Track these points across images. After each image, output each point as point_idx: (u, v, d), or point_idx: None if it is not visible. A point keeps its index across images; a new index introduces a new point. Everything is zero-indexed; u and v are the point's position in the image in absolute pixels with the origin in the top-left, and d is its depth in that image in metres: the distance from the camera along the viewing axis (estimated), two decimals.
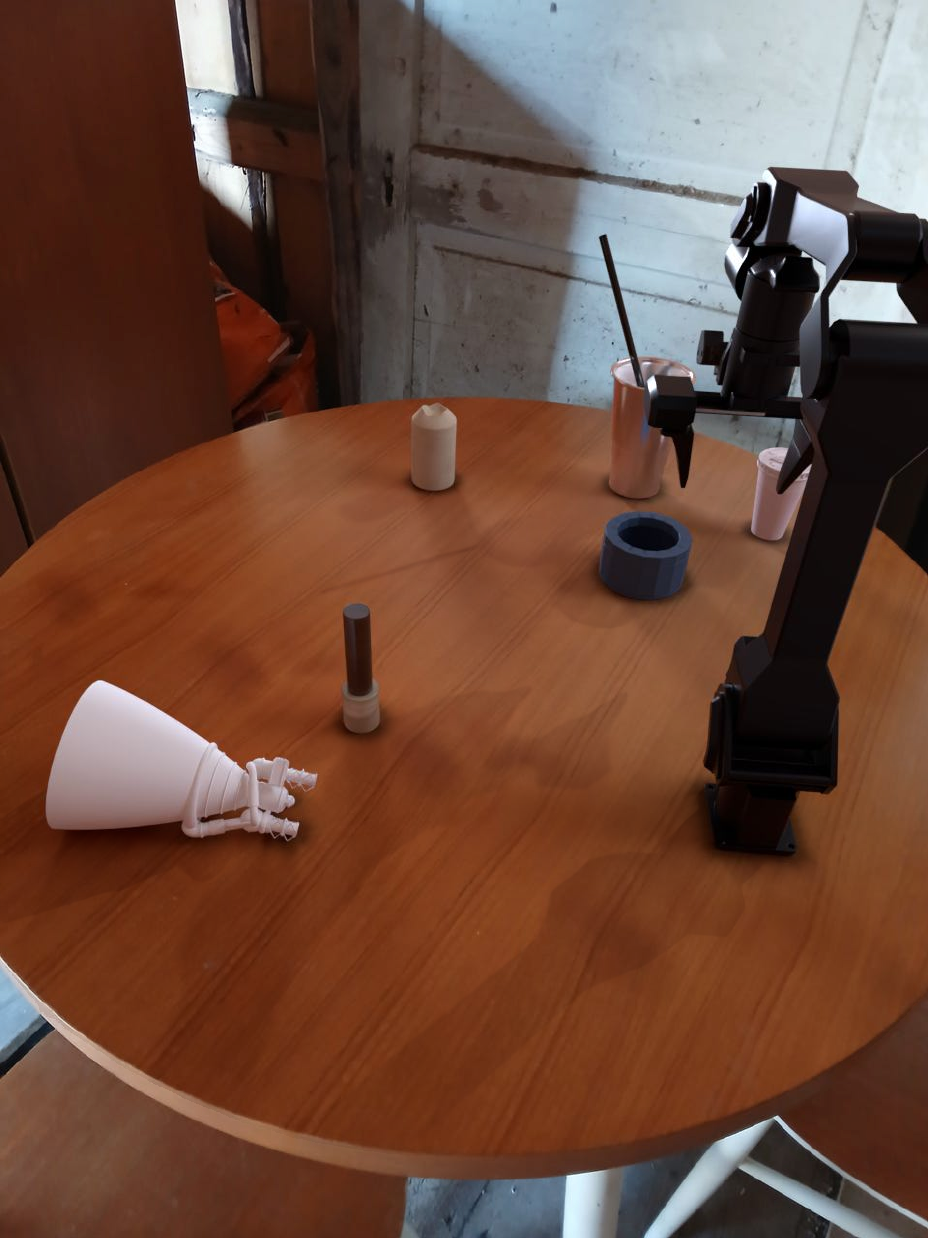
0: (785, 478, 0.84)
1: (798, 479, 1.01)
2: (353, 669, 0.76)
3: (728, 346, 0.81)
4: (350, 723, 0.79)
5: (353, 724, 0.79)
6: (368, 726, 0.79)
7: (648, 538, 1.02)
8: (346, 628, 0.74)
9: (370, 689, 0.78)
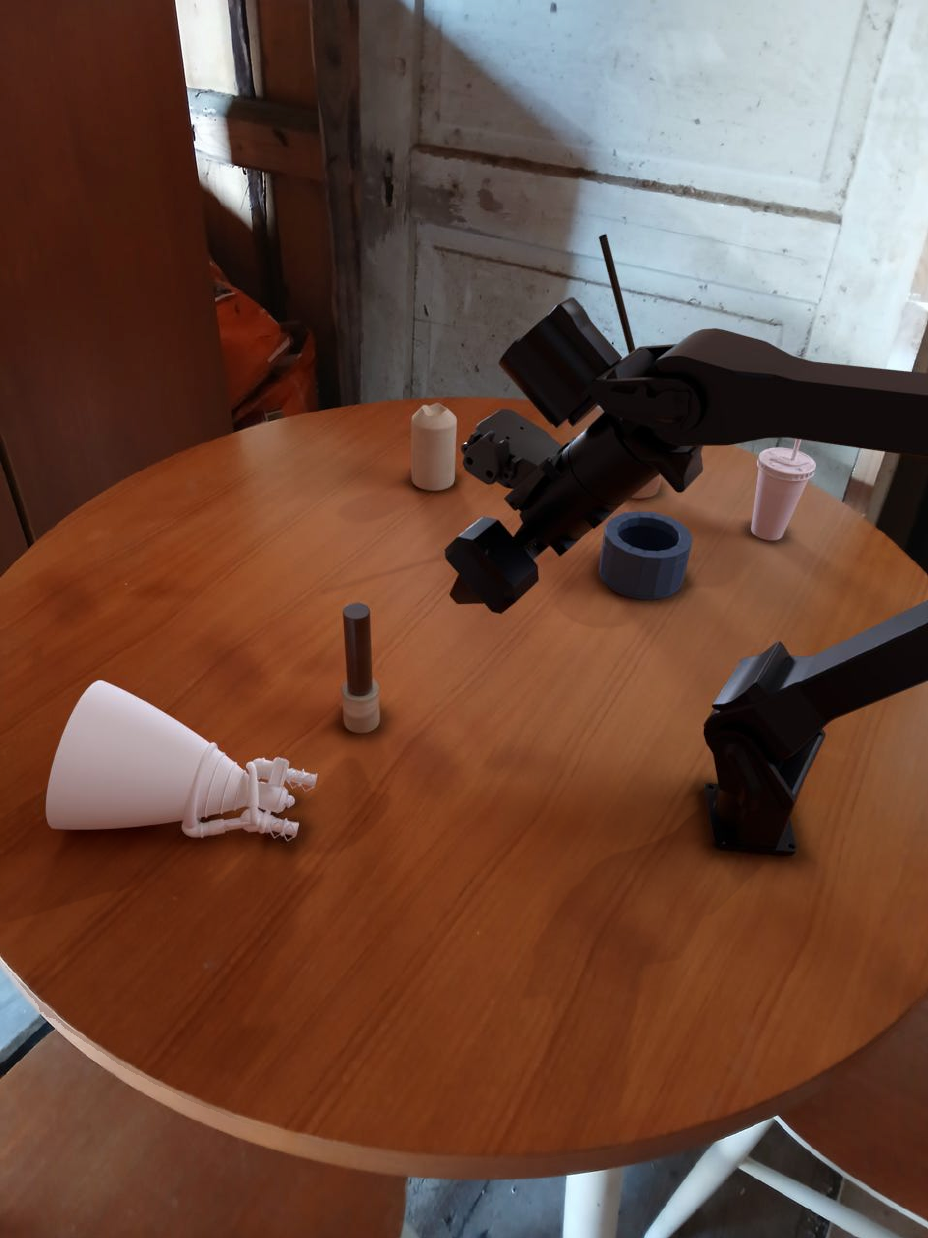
0: None
1: (798, 479, 1.01)
2: (353, 669, 0.76)
3: (536, 475, 0.65)
4: (350, 723, 0.79)
5: (353, 724, 0.79)
6: (368, 726, 0.79)
7: (648, 538, 1.02)
8: (346, 628, 0.74)
9: (370, 689, 0.78)
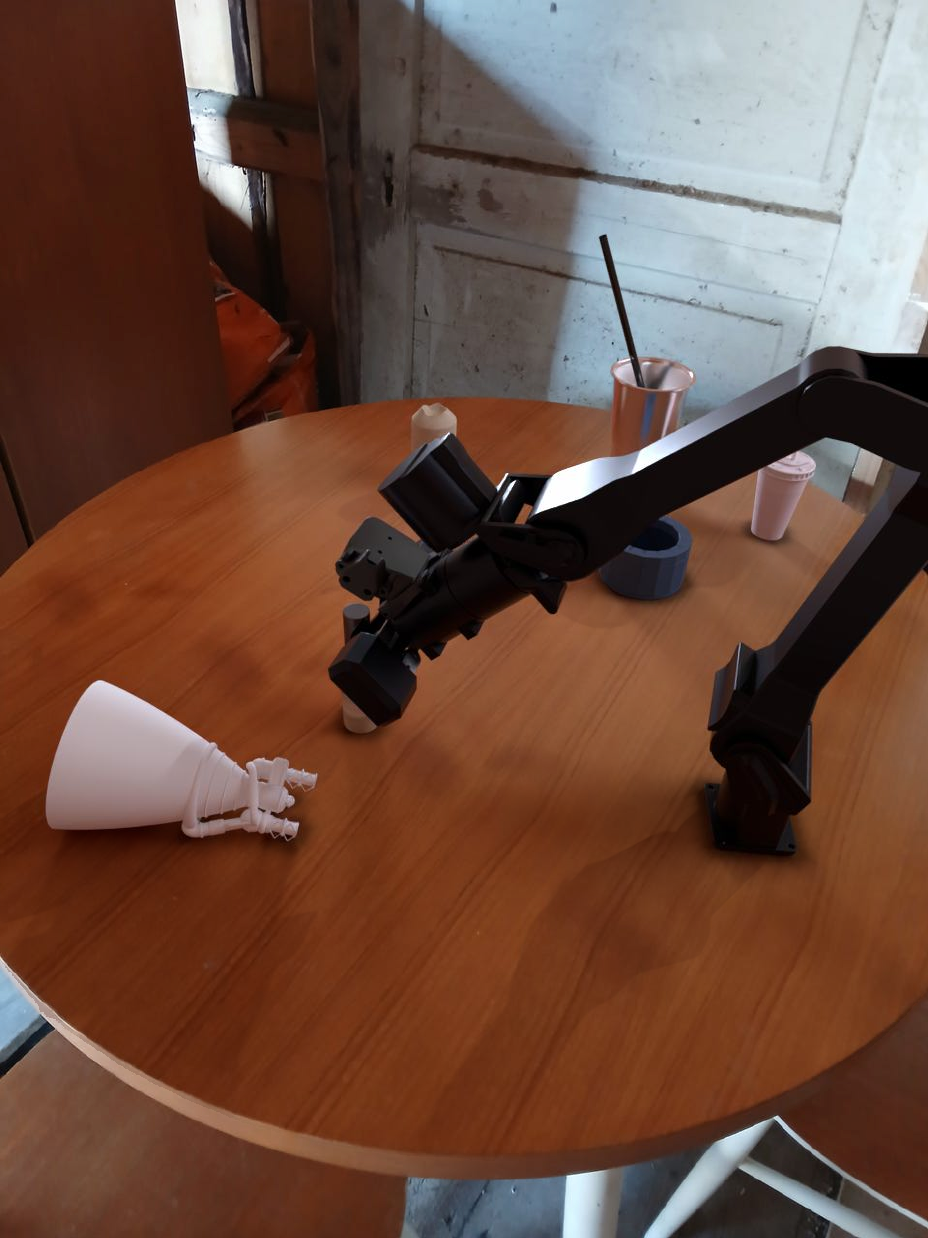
0: None
1: (798, 479, 1.01)
2: None
3: (412, 592, 0.67)
4: (350, 723, 0.79)
5: (353, 724, 0.79)
6: (368, 726, 0.79)
7: (648, 538, 1.02)
8: (346, 628, 0.74)
9: None
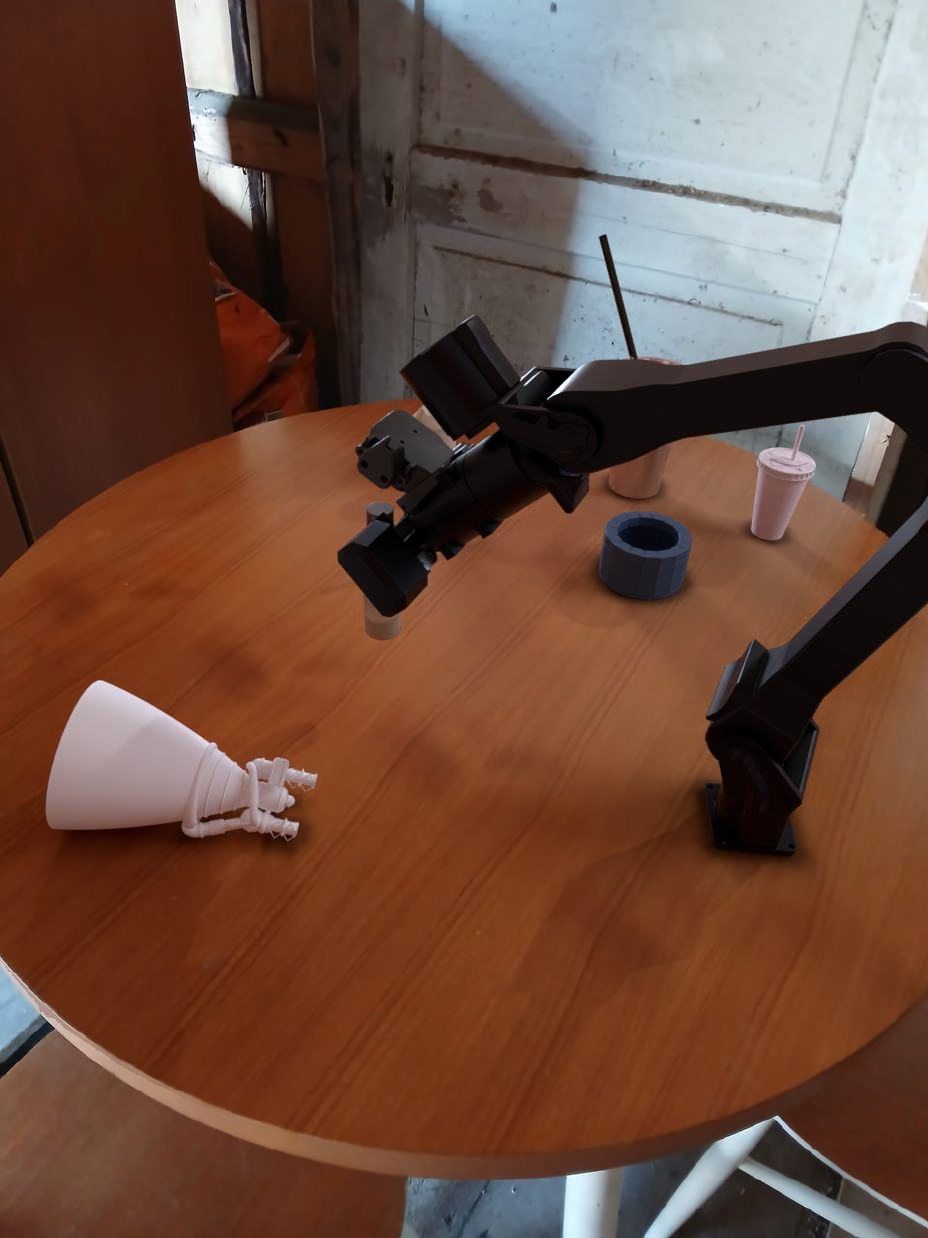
0: None
1: (798, 479, 1.01)
2: None
3: (430, 483, 0.66)
4: (370, 629, 0.79)
5: (373, 630, 0.79)
6: (387, 633, 0.79)
7: (648, 538, 1.02)
8: None
9: None
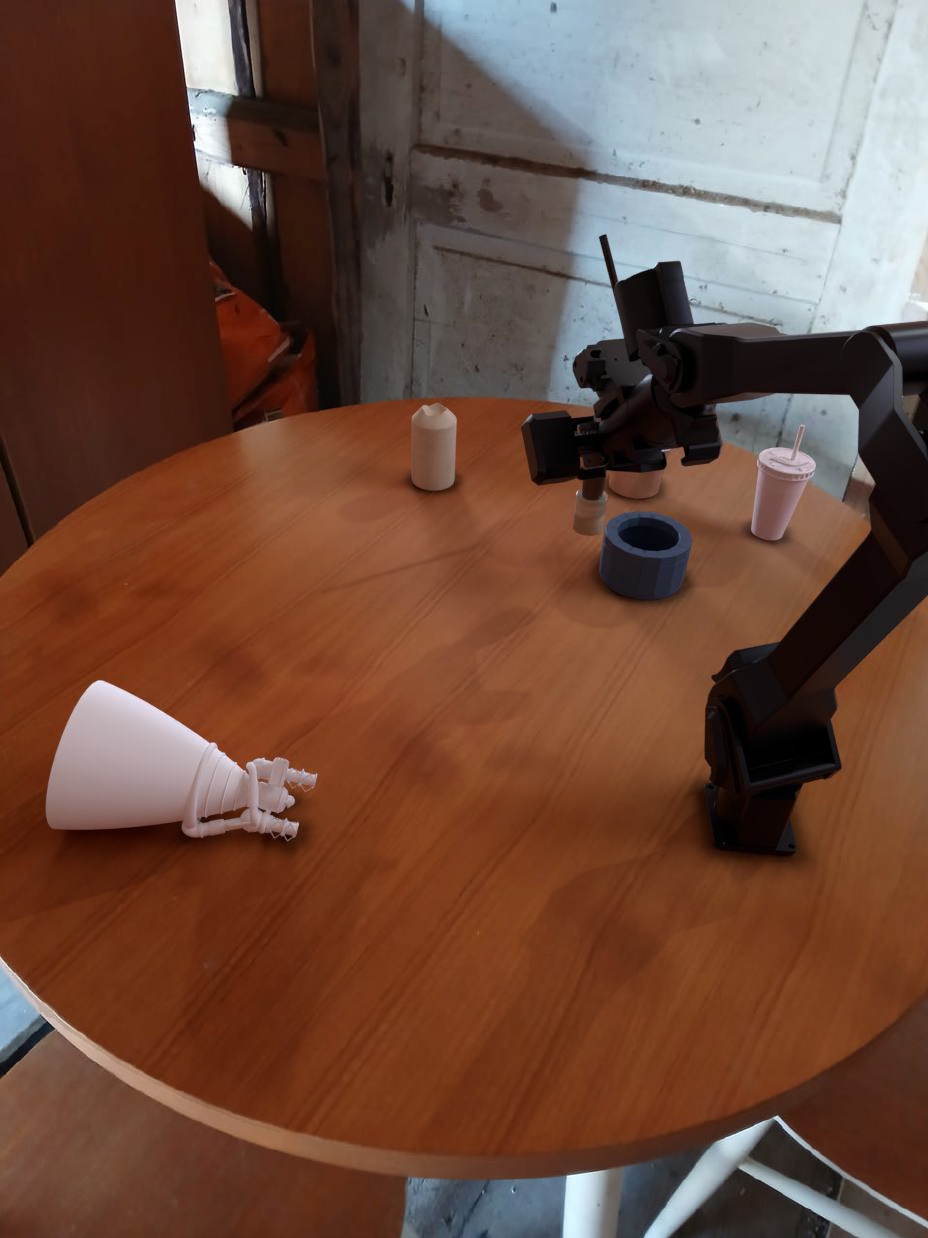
0: (610, 469, 0.90)
1: (798, 479, 1.01)
2: None
3: (612, 395, 0.79)
4: (573, 520, 0.94)
5: (574, 521, 0.94)
6: (582, 528, 0.93)
7: (648, 538, 1.02)
8: None
9: (594, 497, 0.91)
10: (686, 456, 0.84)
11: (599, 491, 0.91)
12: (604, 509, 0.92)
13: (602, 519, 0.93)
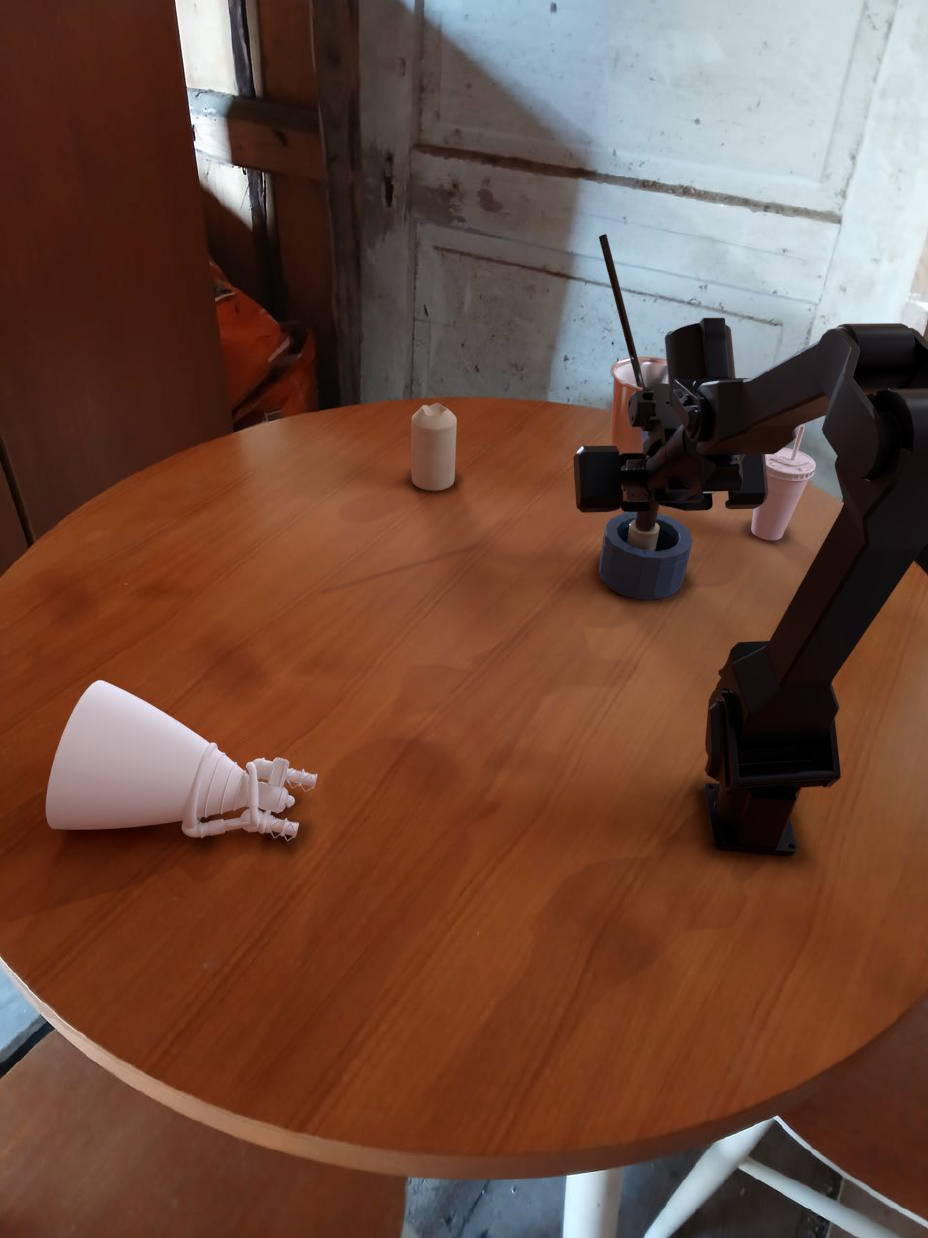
0: (662, 504, 0.95)
1: (798, 479, 1.01)
2: None
3: (657, 436, 0.84)
4: None
5: None
6: None
7: None
8: None
9: (645, 528, 0.96)
10: (729, 500, 0.88)
11: (650, 523, 0.96)
12: (654, 541, 0.97)
13: (652, 550, 0.98)
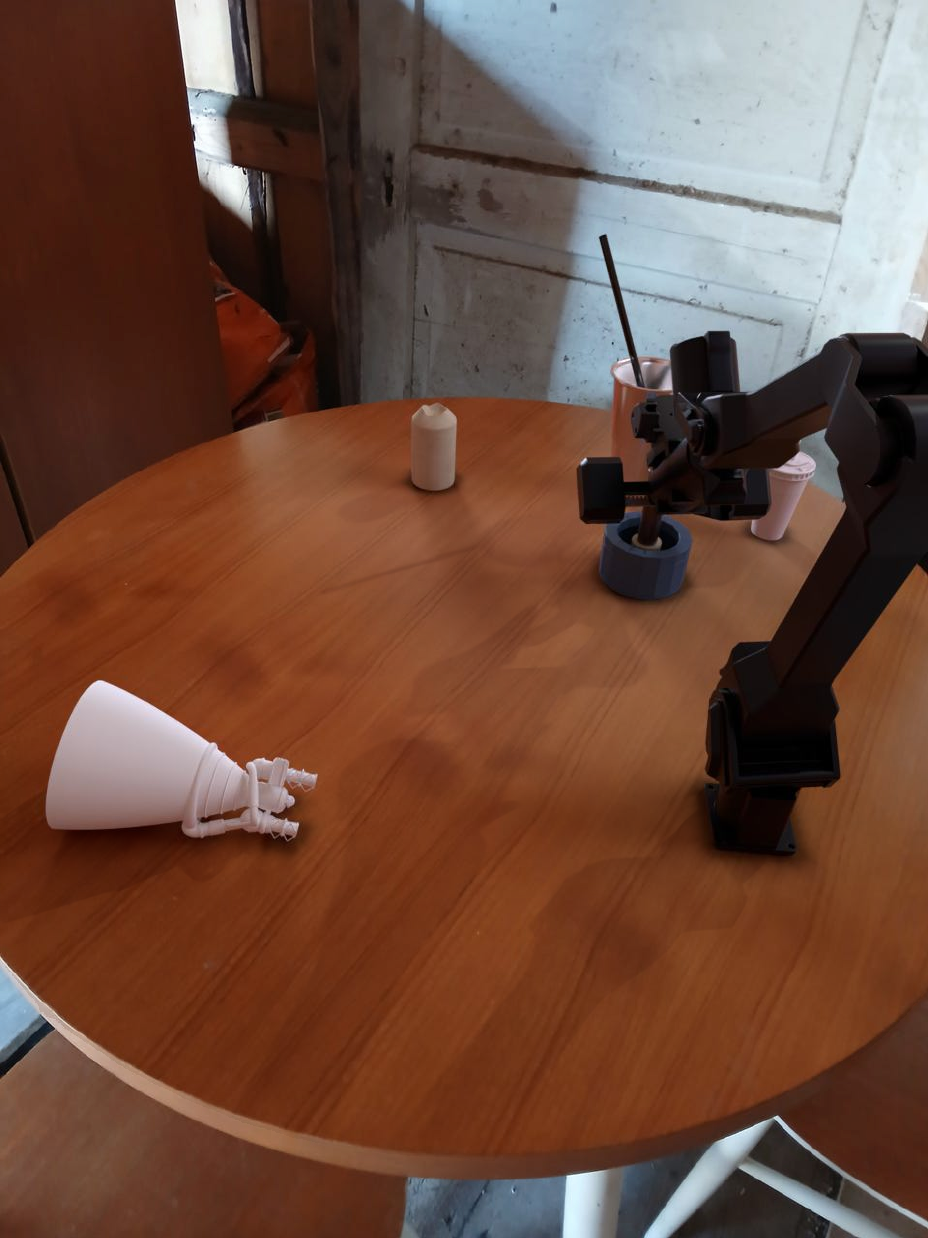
0: (696, 513, 0.95)
1: (798, 479, 1.01)
2: (641, 516, 0.96)
3: (661, 447, 0.84)
4: None
5: None
6: None
7: None
8: None
9: (648, 543, 0.97)
10: (733, 511, 0.88)
11: (652, 538, 0.96)
12: None
13: None
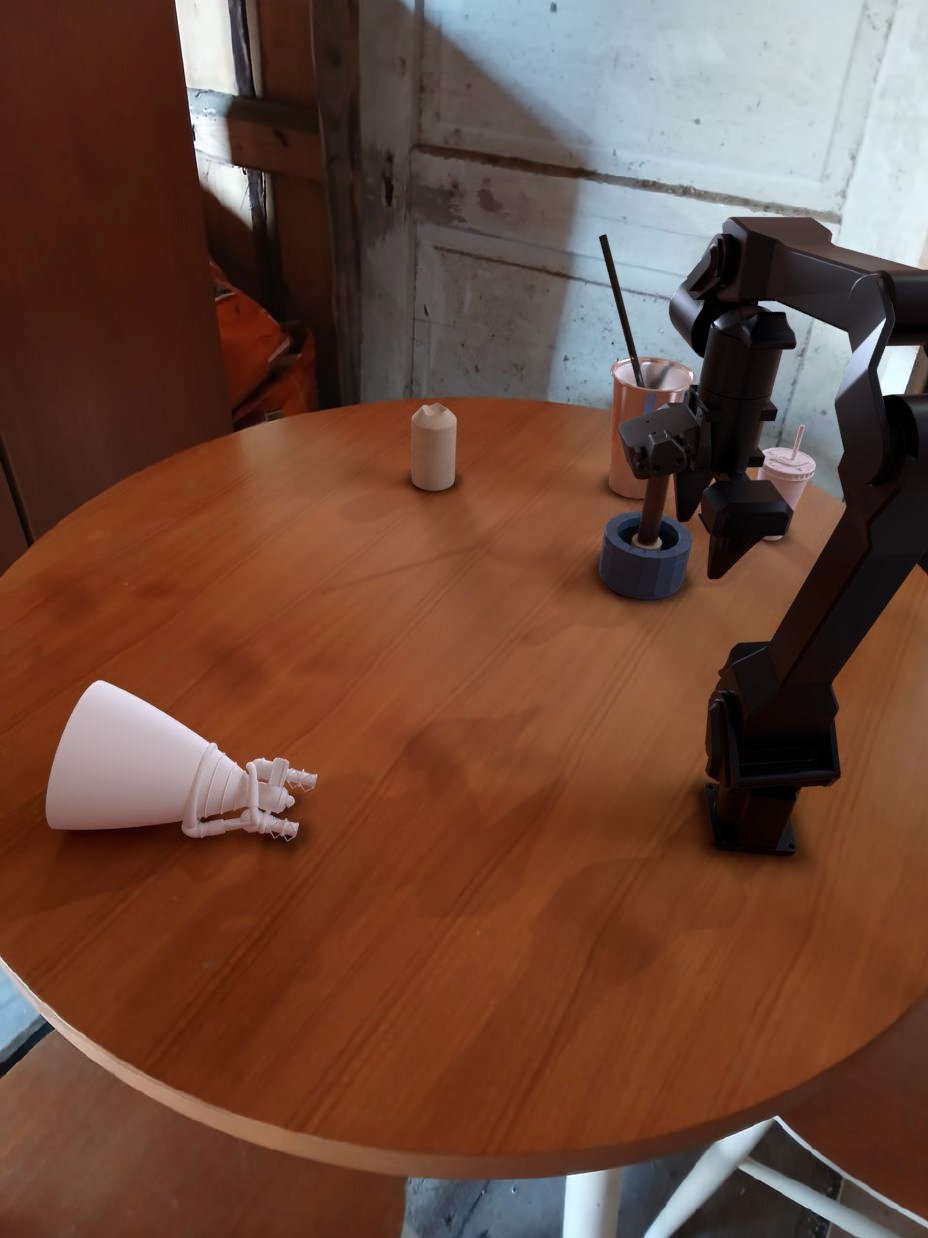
0: (698, 502, 0.84)
1: (798, 479, 1.01)
2: (641, 516, 0.96)
3: (705, 430, 0.71)
4: None
5: None
6: None
7: None
8: None
9: (648, 543, 0.97)
10: None
11: (652, 538, 0.96)
12: None
13: None
